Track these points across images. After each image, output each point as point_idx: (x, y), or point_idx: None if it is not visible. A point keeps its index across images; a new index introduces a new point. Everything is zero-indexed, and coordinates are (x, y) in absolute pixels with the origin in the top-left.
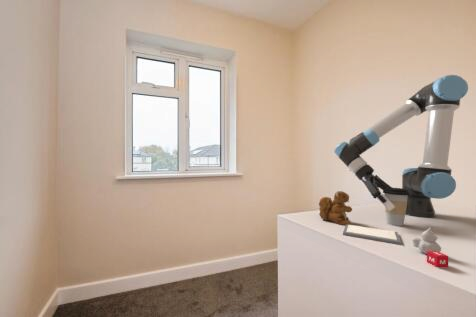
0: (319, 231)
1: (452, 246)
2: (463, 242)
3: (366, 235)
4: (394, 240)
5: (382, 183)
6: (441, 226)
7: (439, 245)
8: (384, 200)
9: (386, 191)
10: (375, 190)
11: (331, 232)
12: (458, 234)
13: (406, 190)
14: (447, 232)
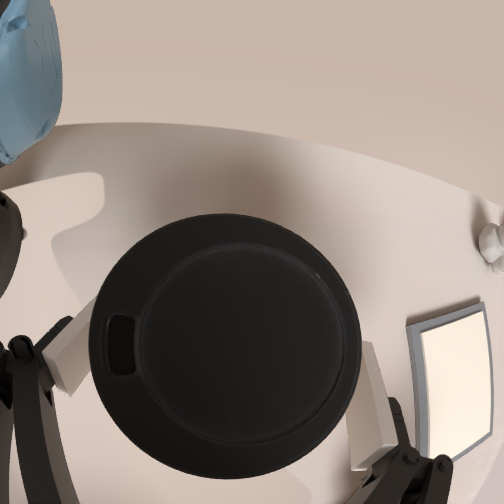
0: (485, 478)
1: (401, 193)
2: (336, 159)
3: (488, 384)
4: (483, 317)
5: (51, 494)
6: (142, 182)
7: (492, 223)
8: (398, 408)
9: (323, 437)
10: (450, 479)
11: (482, 460)
12: (239, 152)
13: (274, 225)
14: (234, 174)
